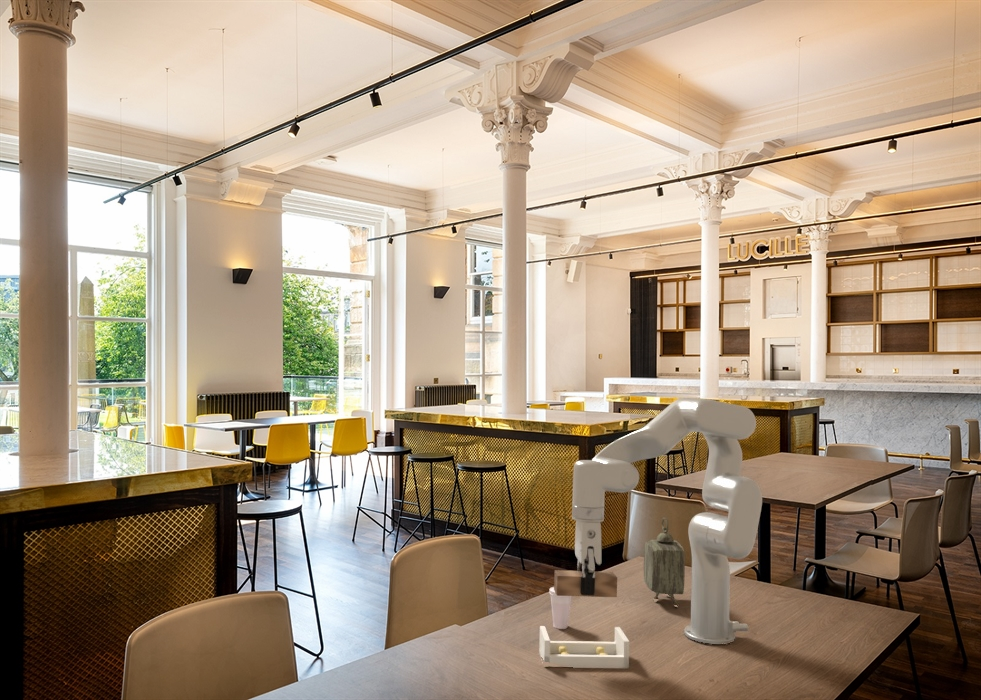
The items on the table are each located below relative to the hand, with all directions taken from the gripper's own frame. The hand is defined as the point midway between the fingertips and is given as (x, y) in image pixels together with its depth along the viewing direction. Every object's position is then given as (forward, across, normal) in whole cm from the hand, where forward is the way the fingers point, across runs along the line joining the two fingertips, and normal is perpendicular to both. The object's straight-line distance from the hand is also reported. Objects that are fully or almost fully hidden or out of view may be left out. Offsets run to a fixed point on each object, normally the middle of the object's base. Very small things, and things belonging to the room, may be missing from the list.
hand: (585, 590), depth 166 cm
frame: (+16, 0, 0) cm, 16 cm away
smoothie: (+16, +22, +2) cm, 27 cm away
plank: (+1, 0, 0) cm, 1 cm away
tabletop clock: (+16, +44, -32) cm, 56 cm away
